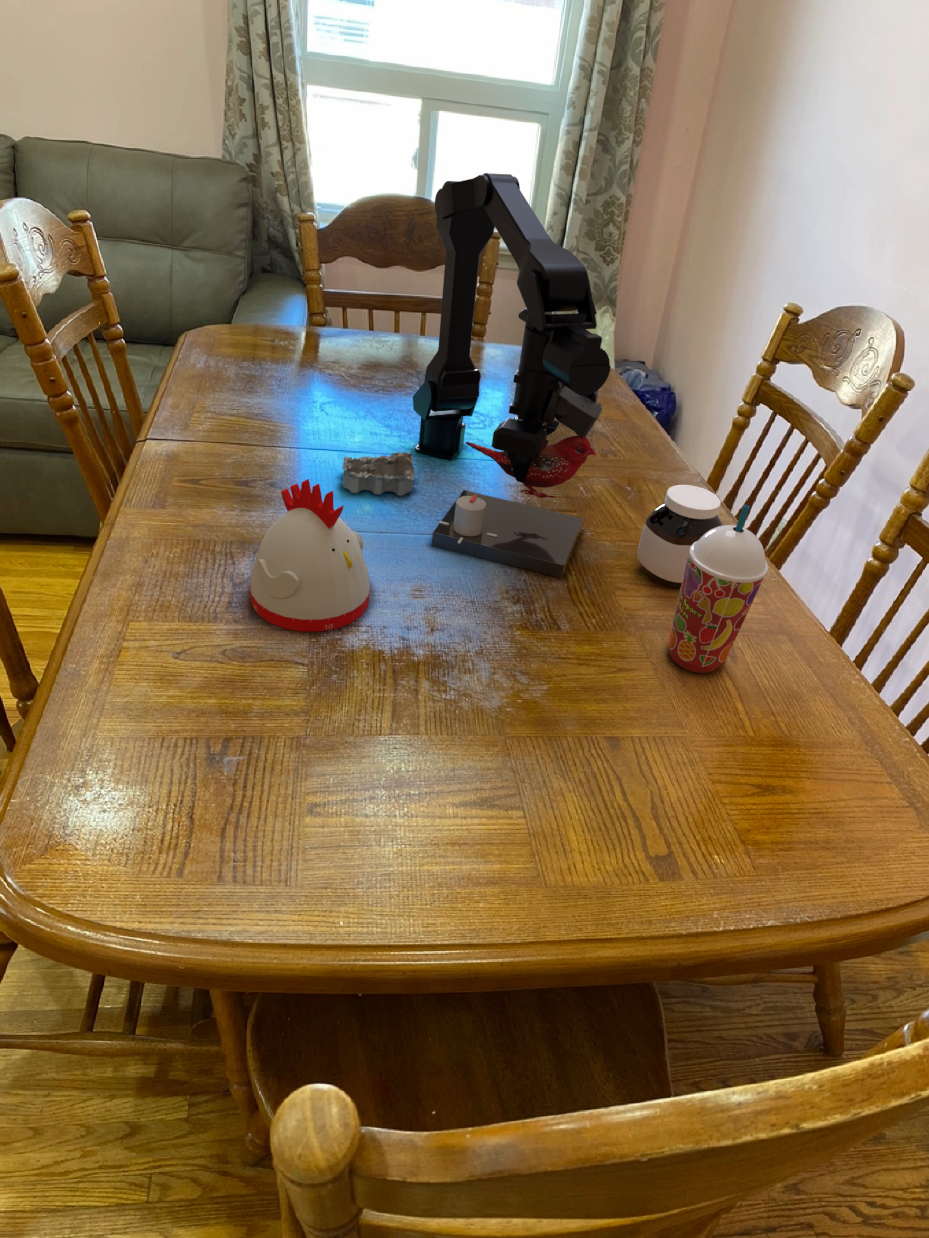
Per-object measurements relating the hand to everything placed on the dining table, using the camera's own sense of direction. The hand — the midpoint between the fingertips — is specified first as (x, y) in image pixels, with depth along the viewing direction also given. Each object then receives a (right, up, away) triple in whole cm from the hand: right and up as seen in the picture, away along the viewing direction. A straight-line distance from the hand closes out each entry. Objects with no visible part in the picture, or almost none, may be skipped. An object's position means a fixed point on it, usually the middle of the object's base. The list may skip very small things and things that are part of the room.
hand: (523, 477), depth 113 cm
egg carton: (-21, 0, +10) cm, 23 cm away
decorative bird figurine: (0, -2, +2) cm, 3 cm away
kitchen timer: (-26, -17, -15) cm, 35 cm away
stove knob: (-8, -7, -2) cm, 11 cm away
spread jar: (+20, -12, 0) cm, 23 cm away
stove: (-2, -8, +1) cm, 9 cm away
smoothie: (+19, -24, -17) cm, 35 cm away
